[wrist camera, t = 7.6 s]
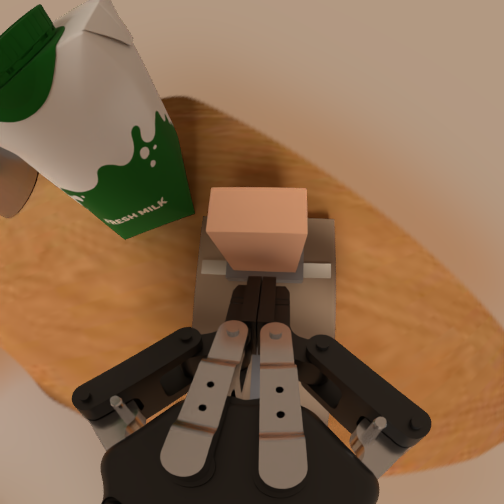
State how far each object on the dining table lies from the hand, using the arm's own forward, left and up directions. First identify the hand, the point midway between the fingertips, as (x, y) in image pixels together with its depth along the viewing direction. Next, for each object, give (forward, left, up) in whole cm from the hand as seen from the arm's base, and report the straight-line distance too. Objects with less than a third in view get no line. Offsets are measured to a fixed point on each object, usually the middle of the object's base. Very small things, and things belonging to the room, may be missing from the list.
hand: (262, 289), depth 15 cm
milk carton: (-11, +9, -6) cm, 15 cm away
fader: (0, +3, -4) cm, 5 cm away
